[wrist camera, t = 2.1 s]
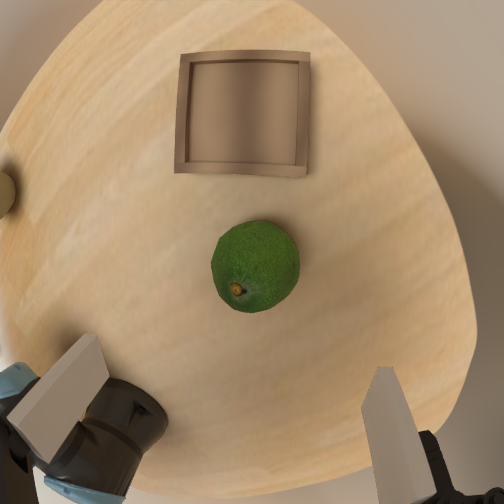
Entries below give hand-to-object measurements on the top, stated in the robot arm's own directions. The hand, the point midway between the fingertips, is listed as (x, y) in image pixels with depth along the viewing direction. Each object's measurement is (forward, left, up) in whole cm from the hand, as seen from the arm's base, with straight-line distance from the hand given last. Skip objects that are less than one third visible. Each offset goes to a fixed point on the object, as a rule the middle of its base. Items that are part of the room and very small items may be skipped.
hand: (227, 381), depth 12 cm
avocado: (0, 0, -20) cm, 20 cm away
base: (-2, +14, -20) cm, 24 cm away
